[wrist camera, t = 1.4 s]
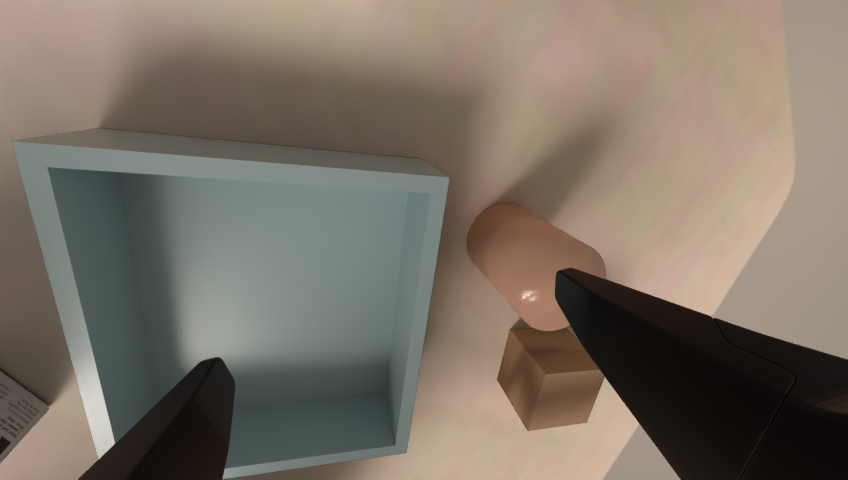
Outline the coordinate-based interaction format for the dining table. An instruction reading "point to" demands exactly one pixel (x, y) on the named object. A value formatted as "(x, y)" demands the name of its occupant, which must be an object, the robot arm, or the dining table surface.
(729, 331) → the robot arm
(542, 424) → the walnut cube
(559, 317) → the terracotta cylinder
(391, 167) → the tote
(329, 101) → the dining table surface
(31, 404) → the coffee box
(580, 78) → the dining table surface
